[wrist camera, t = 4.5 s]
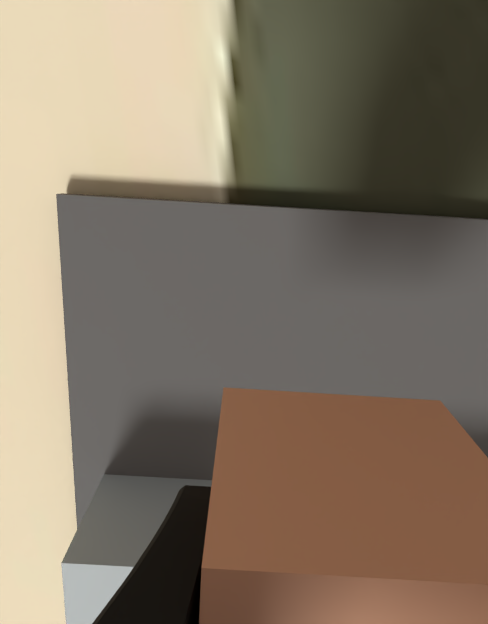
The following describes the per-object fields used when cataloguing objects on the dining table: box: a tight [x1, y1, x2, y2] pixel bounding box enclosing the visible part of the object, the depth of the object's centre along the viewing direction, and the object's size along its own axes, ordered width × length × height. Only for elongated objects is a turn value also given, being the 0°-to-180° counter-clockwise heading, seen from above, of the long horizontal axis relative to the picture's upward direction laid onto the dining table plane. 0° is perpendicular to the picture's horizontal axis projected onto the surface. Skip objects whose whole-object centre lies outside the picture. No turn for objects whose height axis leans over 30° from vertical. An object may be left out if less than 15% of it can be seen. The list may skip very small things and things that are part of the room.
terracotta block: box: [199, 387, 488, 624], centre depth 8 cm, size 4×4×4 cm
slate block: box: [62, 474, 212, 624], centre depth 18 cm, size 4×4×4 cm
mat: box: [56, 194, 488, 529], centre depth 19 cm, size 18×17×1 cm
